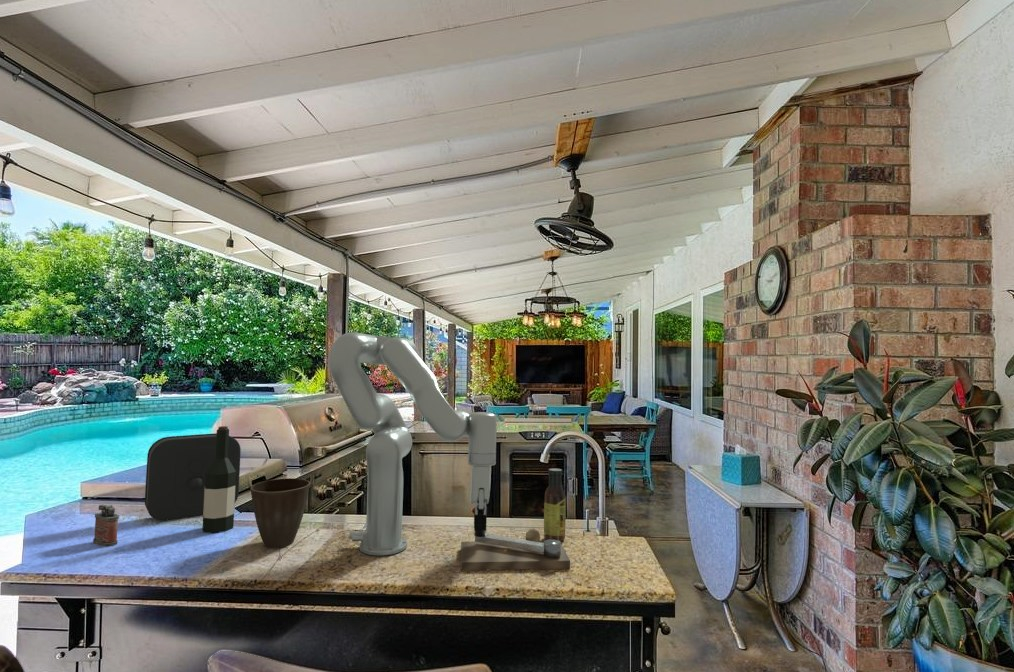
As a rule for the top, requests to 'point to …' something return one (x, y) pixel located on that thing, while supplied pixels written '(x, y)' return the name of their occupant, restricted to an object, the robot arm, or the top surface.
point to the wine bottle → (219, 488)
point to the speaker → (182, 474)
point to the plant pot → (279, 509)
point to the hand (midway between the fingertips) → (479, 526)
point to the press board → (509, 556)
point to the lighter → (106, 526)
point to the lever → (520, 543)
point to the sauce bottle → (554, 507)
